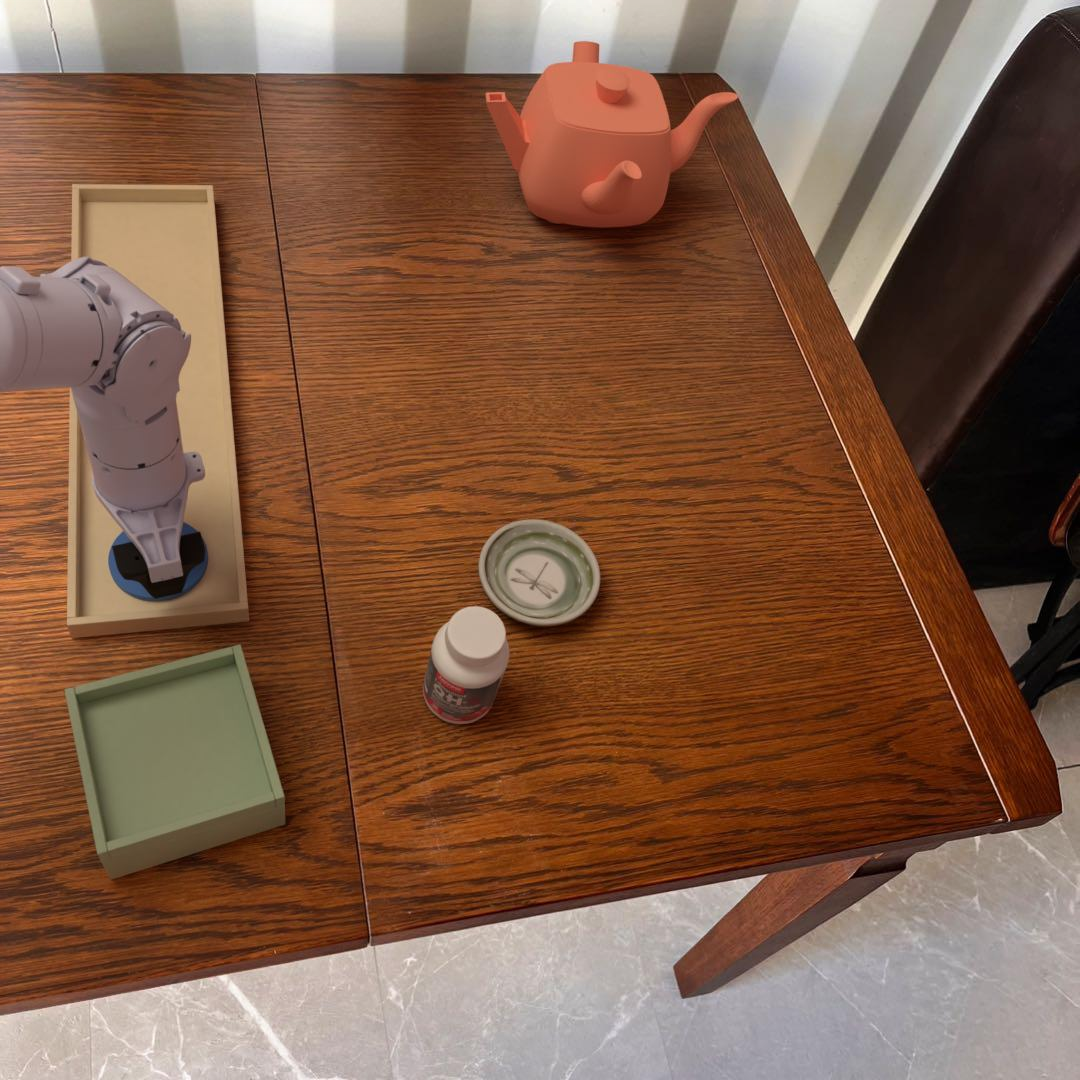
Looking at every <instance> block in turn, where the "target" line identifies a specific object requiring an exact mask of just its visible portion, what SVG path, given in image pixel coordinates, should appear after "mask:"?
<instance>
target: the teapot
mask: <svg viewBox="0 0 1080 1080" xmlns="http://www.w3.org/2000/svg"><path fill="white" fill-rule="evenodd" d="M571 60H572V61H563V62H557V63H552V64H550V65H547V66H546V68H545V69H544V70H543V72H542V73H541V75H540V76H539V78H538V79H537V81H536V82H535V84H534V85H533V87H532V89H531V91H530V92H529V94H528V96H527V98H526V100H525V102H524V104H523V107H522V109H521V113H520V114H519V113H518V112H517V110H516V109H515V107H514V106H513V105H512V103H511V101H510V100H509V99H508V97H507V96H506V92H505V91H495V92H491V91H490V92H485V101H486V107H487V109H488V111H489V114H490V116H491V118H492V120H493V123H494V125H495V127H496V130H497V133H498V134H499V136H500V139H501V141H502V144H503V146H504V149H505V151H506V154H507V156H508V158H509V160H510V162H511V165H512V167H513V169H514V171H517V176H518V180H519V184H520V187H521V192H522V195H523V198H524V200H525V203H526V206H527V208H528V210H529V212H531V213H532V215H534V216H536V217H538V218H540V219H543V220H547V222H550V223H552V224H556V225H557V224H558V225H559V224H565V225H572V226H577V227H587V228H623V227H624V228H625V227H633V226H638V225H642V224H645V223H646V222H649V221H650V220H651V219H653V217H655V215H656V214H657V213H658V212H659V211H660V210H661V209H662V207H663V205H664V202H665V199H666V196H667V192H668V189H669V188H668V187H669V182H670V177H671V174H672V173H674V172H675V171H677V170H678V169H679V168H681V167H683V166H684V165H685V163H687V161H688V160H690V158H691V156H692V155H693V153H694V152H695V149H696V147H697V145H698V144H699V141H700V140H701V139H700V138H701V137H702V135H703V132H704V130H705V128H706V126H707V124H708V123H709V121H710V120H711V119H712V117H713V116H714V115H715V114H716V113H717V112H718V111H719V110H720V109H722V108H724V107H726V106H727V105H730V104H732V103H733V102H735V101H737V100H738V98H739V95H738V94H737V93H735V92H731V91H722V92H721V91H720V92H716V93H712V94H710V95H707V96H706V97H704V98H703V99H701V100H700V101H699V102H698V103H697V104H695V106H694V107H693V108H692V109H691V111H690V112H689V114H687V116H686V117H685V119H684V120H683V121H682V122H681V123H680V124H679V125H678V126H676V127H674V128H673V129H671V121H670V120H671V119H670V116H669V112H668V109H667V105H666V101H665V99H664V95H663V92H662V90H661V87H660V85H659V83H658V81H657V79H656V77H655V76H654V75H653V74H651V73H649V72H647V71H645V70H641V69H638V68H634V67H629V66H624V65H618V64H611V63H602V62H600V43H598V42H593V41H588V40H587V41H586V40H580V41H575V42H573V47H572V59H571Z"/></svg>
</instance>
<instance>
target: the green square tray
mask: <svg viewBox="0 0 1080 1080" xmlns="http://www.w3.org/2000/svg"><path fill="white" fill-rule="evenodd" d="M64 696H65V701H66V706H67V711H68V716H69V721H70V726H71V731H72V735H73V742H74V745H75V751H76V757H77V761H78V765H79V771H80V776H81V780H82V781H81V782H82V785H83V790H84V796H85V800H86V806H87V811H88V815H89V816H88V817H89V820H90V825H91V830H92V836H93V841H94V845H95V850H96V855H97V857H98V859H99V861H100V862H101V865H102V867H103V869H104V871H105V872H106V874H107V876H108V879H109V880H111V881H112V880H114V879H118V878H121V877H124V876H127V875H130V874H134V873H137V872H140V871H143V870H147V869H149V868H153V867H156V866H159V865H162V864H165V863H169V862H171V861H175V860H179V859H180V858H181V859H182V858H185V857H187V856H190V855H194V854H197V853H200V852H203V851H207V850H210V849H212V848H217V847H219V846H222V845H225V844H228V843H232V842H235V841H237V840H241V839H244V838H247V837H251V836H254V835H257V834H260V833H263V832H266V831H269V830H272V829H275V828H276V829H277V828H279V827H282V826H285V825H286V804H285V803H286V797H285V792H284V789H283V786H282V782H281V778H280V775H279V772H278V768H277V765H276V761H275V757H274V754H273V751H272V748H271V743H270V740H269V736H268V734H267V730H266V727H265V724H264V720H263V717H262V713H261V709H260V706H259V701H258V699H257V696H256V692H255V688H254V685H253V682H252V677H251V675H250V672H249V668H248V665H247V661H246V658H245V654H244V650H243V648H242V645H241V644H236V645H233V646H229V647H224V648H221V649H216V650H212V651H209V652H205V653H200V654H197V655H193V656H189V657H185V658H181V659H177V660H174V661H169V662H166V663H162V664H158V665H154V666H150V667H146V668H142V669H138V670H133V671H130V672H126V673H121V674H119V675H113V676H110V677H108V678H103V679H99V680H95V681H92V682H87V683H82V684H80V685H75V686H72V687H67V688H65V689H64Z"/></svg>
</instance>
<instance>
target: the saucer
mask: <svg viewBox="0 0 1080 1080" xmlns="http://www.w3.org/2000/svg"><path fill="white" fill-rule="evenodd" d="M477 567H478V568H477V571H478V577H479V582H480V584H481V587H482V589H483V592H484V593H485V595H486V596H487V598H488V600H490V601H491V603H492V604H493V605H494V607H495V608H496V609H498V610H499V611H501V612H502V613H503V614H504V615H506V616H507V617H510V618H511V619H513V620H515V621H517V622H520V623H522V624H527V625H530V626H536V627H555V626H560V625H564V624H567V623H570V622H572V621H574V620H576V619H578V618H579V617H581V616H582V615H584V614H585V613H586V612H587V611H588V610H589V609H590V608H591V607H592V605H593V604H594V602H595V601H596V599H597V597H598V594H599V591H600V586H601V569H600V566H599V562H598V559H597V557H596V555H595V553H594V552H593V550H592V548H591V547H590V546H589V545H588V543H587V542H586V541H585V540H584V539H583V538H582V536H580V535H578V534H577V533H576V532H575V531H573V530H571V529H570V528H568V527H566V526H564V525H562V524H559V523H557V522H554V521H550V520H545V519H535V518H533V519H532V518H531V519H530V518H529V519H522V520H516V521H513V522H509V523H508V524H505V525H503V526H501V527H500V528H499V529H497V530H496V531H494V532H493V533H492V534H491V535H490V536H489V538H488V539H486V541H485V542H484V544H483V547H482V549H481V550H480V554H479V558H478V566H477Z"/></svg>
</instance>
